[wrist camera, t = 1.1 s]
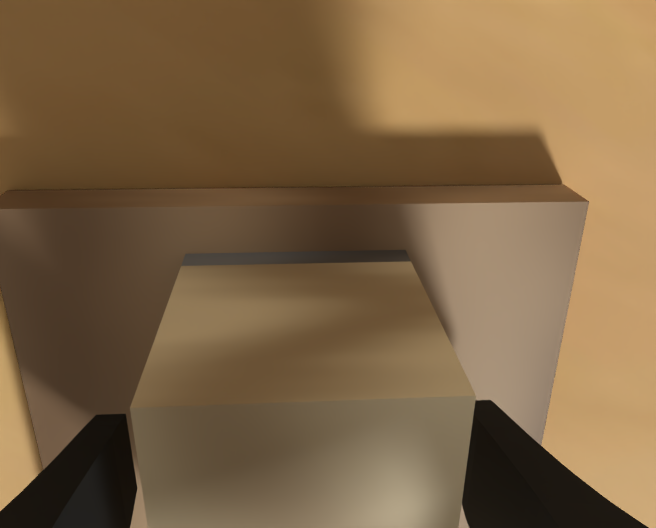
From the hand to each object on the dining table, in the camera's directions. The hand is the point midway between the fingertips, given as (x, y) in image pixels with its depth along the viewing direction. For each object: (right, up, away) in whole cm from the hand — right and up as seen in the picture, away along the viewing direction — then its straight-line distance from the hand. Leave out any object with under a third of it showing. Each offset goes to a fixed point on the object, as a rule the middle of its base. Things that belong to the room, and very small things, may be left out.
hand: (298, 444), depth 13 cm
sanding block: (0, 0, +1) cm, 1 cm away
